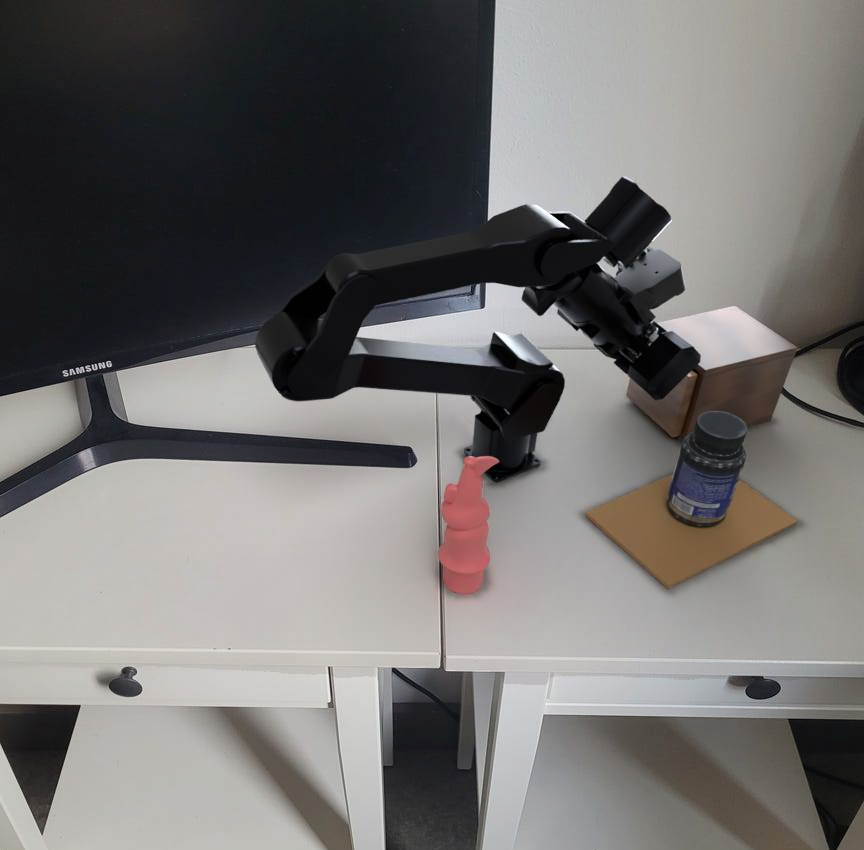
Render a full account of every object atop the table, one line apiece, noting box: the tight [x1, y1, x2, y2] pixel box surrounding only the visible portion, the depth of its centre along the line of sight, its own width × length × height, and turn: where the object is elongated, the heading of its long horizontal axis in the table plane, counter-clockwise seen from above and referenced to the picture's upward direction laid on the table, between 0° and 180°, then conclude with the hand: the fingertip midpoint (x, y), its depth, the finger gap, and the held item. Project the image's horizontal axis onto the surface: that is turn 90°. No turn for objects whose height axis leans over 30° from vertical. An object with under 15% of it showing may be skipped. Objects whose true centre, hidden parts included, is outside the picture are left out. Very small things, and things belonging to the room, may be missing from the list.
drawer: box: [625, 369, 699, 438], centre depth 96 cm, size 13×9×8 cm
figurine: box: [437, 456, 499, 595], centre depth 74 cm, size 5×5×15 cm
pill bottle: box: [666, 411, 748, 527], centre depth 82 cm, size 6×6×11 cm
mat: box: [584, 473, 798, 590], centre depth 85 cm, size 18×12×1 cm, turn 120°
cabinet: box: [656, 305, 798, 443], centre depth 97 cm, size 13×11×10 cm
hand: (658, 367), depth 93 cm, fingers closed, pressing on drawer
